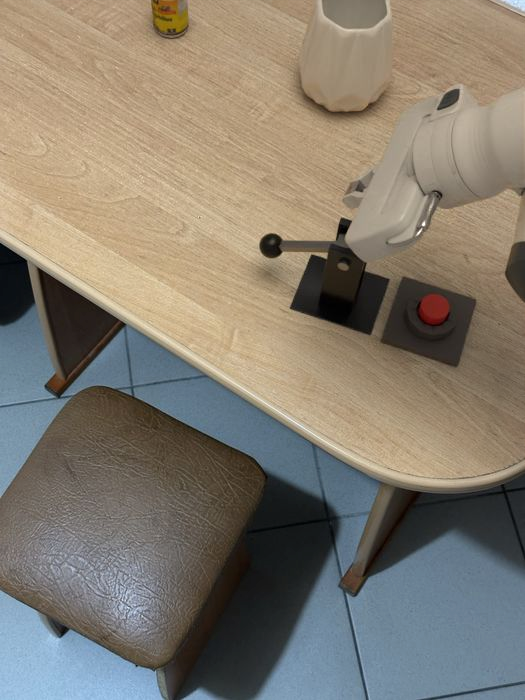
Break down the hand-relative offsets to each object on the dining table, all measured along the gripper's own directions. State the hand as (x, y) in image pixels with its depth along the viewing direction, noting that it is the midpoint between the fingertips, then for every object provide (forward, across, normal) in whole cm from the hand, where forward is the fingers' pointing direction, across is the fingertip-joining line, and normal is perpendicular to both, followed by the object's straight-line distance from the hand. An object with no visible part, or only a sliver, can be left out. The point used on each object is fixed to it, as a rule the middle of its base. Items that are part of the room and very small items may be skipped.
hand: (349, 195), depth 93 cm
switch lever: (+11, 0, -7) cm, 13 cm away
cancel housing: (+6, +1, -24) cm, 25 cm away
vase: (+22, +36, -6) cm, 42 cm away
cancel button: (+3, +1, -22) cm, 22 cm away
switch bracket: (+14, 0, -15) cm, 21 cm away
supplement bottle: (+42, +36, +16) cm, 58 cm away
